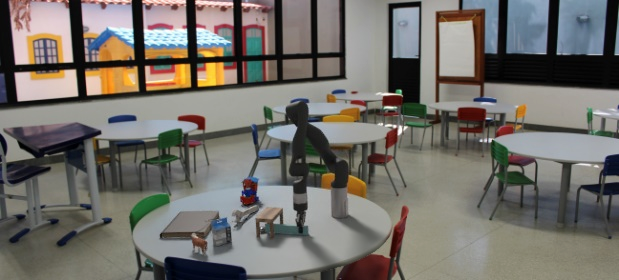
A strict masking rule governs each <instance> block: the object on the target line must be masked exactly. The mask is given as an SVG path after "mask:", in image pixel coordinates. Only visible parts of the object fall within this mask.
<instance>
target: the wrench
mask: <svg viewBox="0 0 619 280" xmlns="http://www.w3.org/2000/svg"><path fill="white" fill-rule="evenodd" d="M259 208H260V207H259V205H253V206H251V207H248V208H246V209H244V210H239V209H234V210H233V211H232V213H231V217H235V218H234V219H233V222H232V223H237V224H240V223H241V221H242V219H243V217H245V216H248V215H250V214H252V213H254V212H258V210H259Z"/></svg>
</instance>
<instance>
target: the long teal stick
mask: <svg viewBox="0 0 619 280" xmlns="http://www.w3.org/2000/svg"><path fill="white" fill-rule="evenodd" d="M273 225H274V234H285V235H286V234H288V235H301V236H308V235H309V225H304V226H303V233H302V234H300V233H299V228H298V227H297V225H296V224H285V223H283V224H280V223H273ZM264 227H265V233H267V234H268V233H269V234H270V223H265V224H264Z"/></svg>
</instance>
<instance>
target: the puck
mask: <svg viewBox="0 0 619 280" xmlns="http://www.w3.org/2000/svg"><path fill="white" fill-rule="evenodd" d="M264 233H266V232H265V225H263V226H262V225H260V234H264Z"/></svg>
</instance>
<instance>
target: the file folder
mask: <svg viewBox="0 0 619 280" xmlns="http://www.w3.org/2000/svg"><path fill="white" fill-rule="evenodd" d="M219 217H220V210H187V211H186V210H183V211H180V212H179V213H177V214H176V216H175V217H174V218H173V219H172V220H171V221H170V222H169V223H168V225H167V226H166V227H165V228H164V229H163V230H162V231H161V232H160V233H159V238H162V237H189V235H192V234H193V233H195V234H196V235H197V234H198V236H197V237H199V238H201V239H203V238H206V236H207V235H208V233H209V232H210V230H211V229H212V221H214V220H218V218H219ZM191 237H192V236H191Z"/></svg>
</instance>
